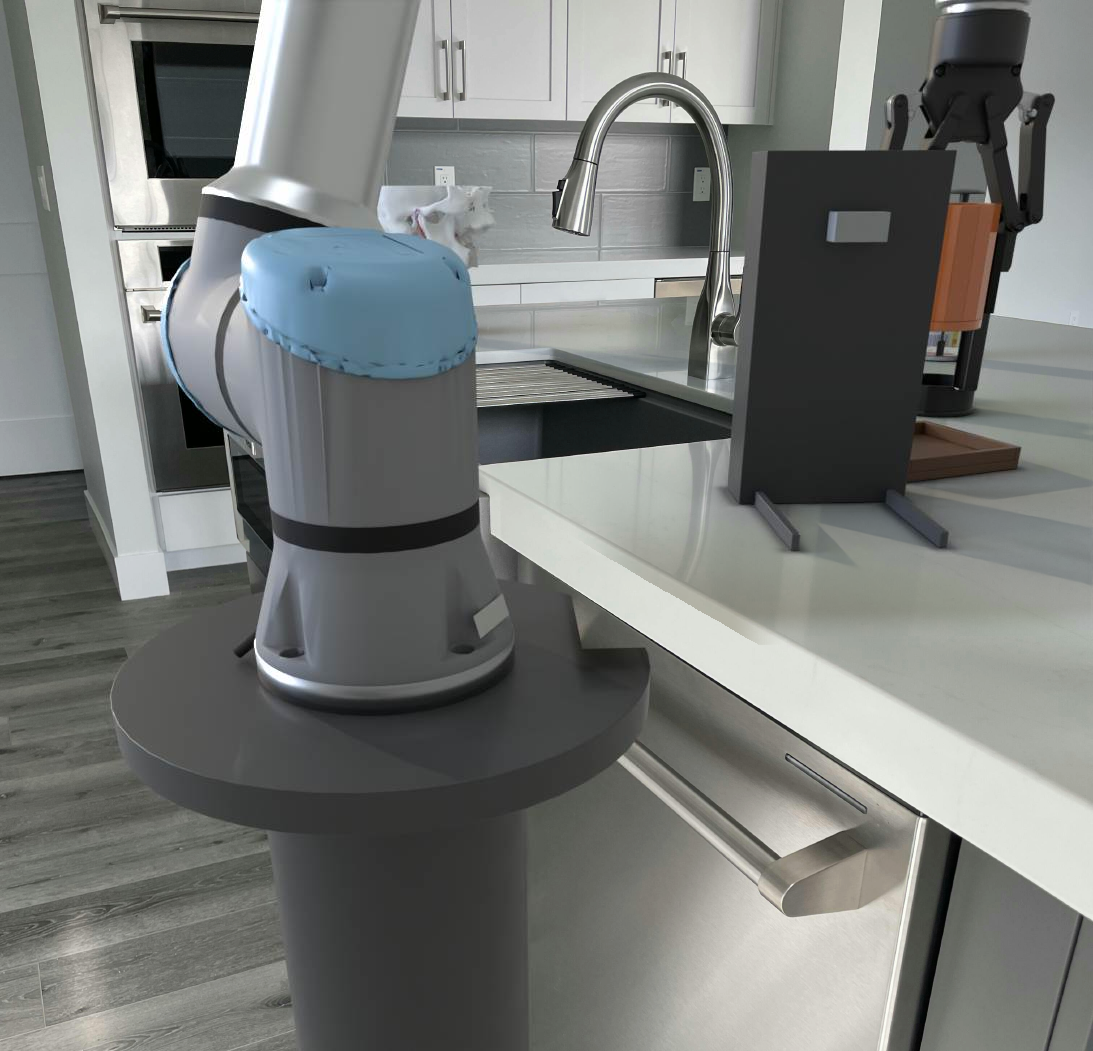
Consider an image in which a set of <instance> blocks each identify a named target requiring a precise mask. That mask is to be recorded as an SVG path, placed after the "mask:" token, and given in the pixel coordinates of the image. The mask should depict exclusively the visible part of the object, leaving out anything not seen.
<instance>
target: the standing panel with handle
mask: <svg viewBox="0 0 1093 1051" xmlns="http://www.w3.org/2000/svg"><path fill="white" fill-rule="evenodd" d="M957 153H958V150H957V149H945V150H918V149H903V150H879V149H861V150H860V149H829V150H828V149H826V150H825V149H824V150H823V149H821V150H820V149H817V150H816V149H815V150H814V149H811V150H810V149H808V150H807V149H805V150H804V149H801V150H800V149H799V150H798V149H797V150H796V149H795V150H794V149H793V150H791V149H790V150H788V149H787V150H786V149H785V150H784V149H781V150H778V149H773V150H772V149H771V150H756V151H752V153H751V154H752V156H751V166H750V178H749V179H750V180H749V191H748V192H749V193H748V194H749V195H748V207H747V220H746V232H745V247H744V260H743V272H742V284H741V285H742V286H741V299H740V313H739V324H738V325H739V326H738V337H737V338H738V339H737V340H738V341H737V353H736V365H735V380H734V393H733V406H732V416H731V417H732V418H731V419H732V420H731V431H730V444H729V448H730V449H729V458H728V470H727V471H728V472H727V483H726V484H727V486H726V489H727V490H728V491H729V493H730V494H731V495H732V497H733V498H734V500H735V501H736V502H737V503H738V504H739V505H754V507H755V508H756V509H757V511H758V512H759V513H760V514H761V516H763V518H764V519H765V520H766V522H767V523H768V524H769V525H770V526H771V527H772V529H773V530H774V531H775V532H776V534H777V535H778V537H780V538H781V540H782V541H783V542H784V543H785V545H786V546H787V547H788V548H789V549H790V551H799V550H800V544H801V543H800V542H801V534H800V532H798V530H797V529H796V528H795V527H794V526H793V524H791V522H790V521H789V520H788V519H787V517H785V516H784V514H783V513H782V512H781V511H780V510H779V509H778V507H777V506H776V505H775V504H821V503H822V504H825V503H826V504H829V503H830V504H831V503H833V504H834V503H876V502H877V503H884V504H885V505H887V506H888V507H889V508H890V509H891V510H892V511H893V512H895V513H896V514H897V515H899V516H900V517H901V518H902V519H903V520H905V521H906V522H907V523H908V524H910V525H911V526H912V527H913V528H914V529H915V530H916V531H918V532H919V533H921V534H922V535H923V536H924V537H925V538H927V540H929V541H930V542H931V543H933V544H934V545H935V546H936V547H938V548H939V549H941V548H944V549H945V548H947V546H948V539H949V535H950V531H948V530H947V529H946V528H944V527H943V526H942V525H941V524H939V523H938V522H937V521H935V519H933V518H932V517H930V516H929V515H927V514H926V513H925V511H922V510H921V509H920V508H919V507H918V506H916V505H915V504H913V503H912V502H911V501H909V500H908V499H906V498H905V495H906V489H907V483H908V482H907V476H908V470H909V463H910V457H911V450H912V444H913V437H914V430H915V424H916V421H917V417H918V415H917V411H918V404H919V398H920V391H921V384H922V378H923V373H924V371H925V364H926V361H925V358H926V352H927V345H928V338H929V332H930V325H931V319H932V312H933V306H934V299H935V292H936V286H937V279H938V273H939V266H940V260H941V253H942V246H943V240H944V233H945V227H946V220H947V214H948V207H949V203H950V200H951V195H952V194H951V190H952V187H953V180H954V173H955V167H956V162H957Z"/></svg>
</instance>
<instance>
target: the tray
mask: <svg viewBox="0 0 1093 1051" xmlns="http://www.w3.org/2000/svg"><path fill="white" fill-rule="evenodd" d="M1021 451H1022V446H1020V445H1016V444H1012V443H1009V442H1005V441H1000V440H997V439H994V438H990V437H987V436H982V435H979V434H975V433H973V432H969V431H965V430H961V429H957V428H953V427H951V426H946V425H942V424H940V423H935V422H932V421H928V420H916V424H915V430H914V437H913V444H912V450H911V457H910V463H909V470H908V476H907V483H913V482H920V481H927V480H928V481H929V480H936V479H944V478H952V477H958V476H959V477H960V476H966V475H975V474H983V473H992V472H999V471H1000V472H1001V471H1006V470H1008V471H1009V470H1016V469H1018V466H1019V462H1020V461H1019V460H1020V456H1021Z"/></svg>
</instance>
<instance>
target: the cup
mask: <svg viewBox="0 0 1093 1051" xmlns="http://www.w3.org/2000/svg"><path fill="white" fill-rule="evenodd" d="M1001 206H1002V204H999V203H991V202H968V203H959V202H949V207H948V214H947V220H946V227H945V233H944V240H943V246H942V253H941V260H940V266H939V273H938V279H937V286H936V292H935V299H934V306H933V312H932V319H931V325H930V331H942V332H952V331H959V332H961V331H970V330H976V329H979V328H980V327H981V323H982V318H983V312H984V306H985V300H986V294H987V289H988V283H989V277H990V271H991V265H992V259H993V253H994V247H995V241H996V235H997V229H998V223H999V218H1000V212H1001Z"/></svg>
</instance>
